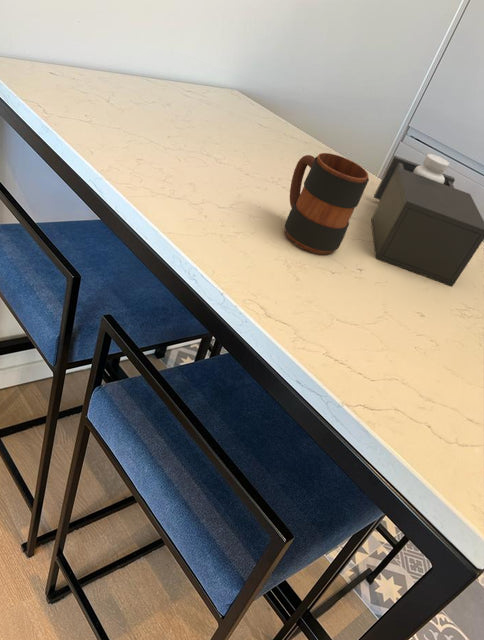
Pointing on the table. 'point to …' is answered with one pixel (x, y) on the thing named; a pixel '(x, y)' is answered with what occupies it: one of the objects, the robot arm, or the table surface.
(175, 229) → the table surface
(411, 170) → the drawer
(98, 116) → the table surface
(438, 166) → the pill bottle
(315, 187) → the mug
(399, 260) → the charcoal bevelled cube
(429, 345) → the table surface
